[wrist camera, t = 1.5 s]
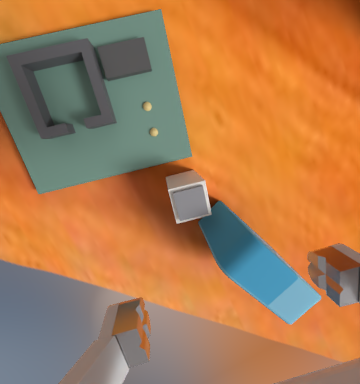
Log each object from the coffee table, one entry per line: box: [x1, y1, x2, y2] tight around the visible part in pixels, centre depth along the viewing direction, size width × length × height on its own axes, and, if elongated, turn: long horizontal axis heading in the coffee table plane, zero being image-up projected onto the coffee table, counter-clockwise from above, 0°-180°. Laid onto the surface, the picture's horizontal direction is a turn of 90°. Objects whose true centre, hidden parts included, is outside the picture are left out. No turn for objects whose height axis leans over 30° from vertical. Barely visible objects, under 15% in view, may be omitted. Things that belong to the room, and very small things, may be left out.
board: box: [0, 9, 192, 194], centre depth 23 cm, size 20×16×3 cm
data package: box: [198, 201, 321, 324], centre depth 25 cm, size 12×4×12 cm, turn 47°
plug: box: [166, 170, 212, 224], centre depth 25 cm, size 4×4×7 cm
